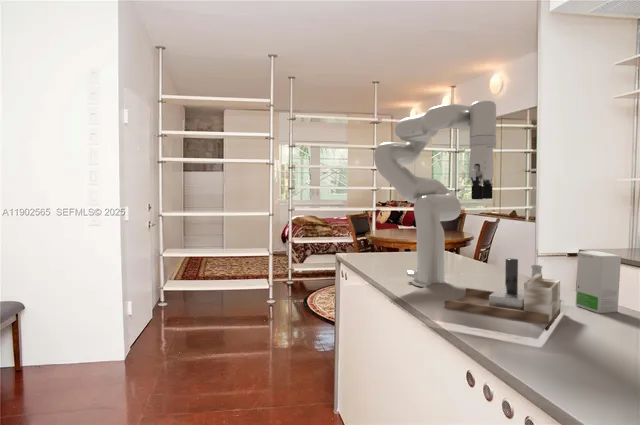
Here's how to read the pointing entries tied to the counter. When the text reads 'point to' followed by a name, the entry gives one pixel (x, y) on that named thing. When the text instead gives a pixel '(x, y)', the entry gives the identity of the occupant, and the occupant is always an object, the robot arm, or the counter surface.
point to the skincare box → (598, 281)
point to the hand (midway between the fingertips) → (482, 199)
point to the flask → (536, 270)
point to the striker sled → (509, 289)
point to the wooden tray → (537, 302)
